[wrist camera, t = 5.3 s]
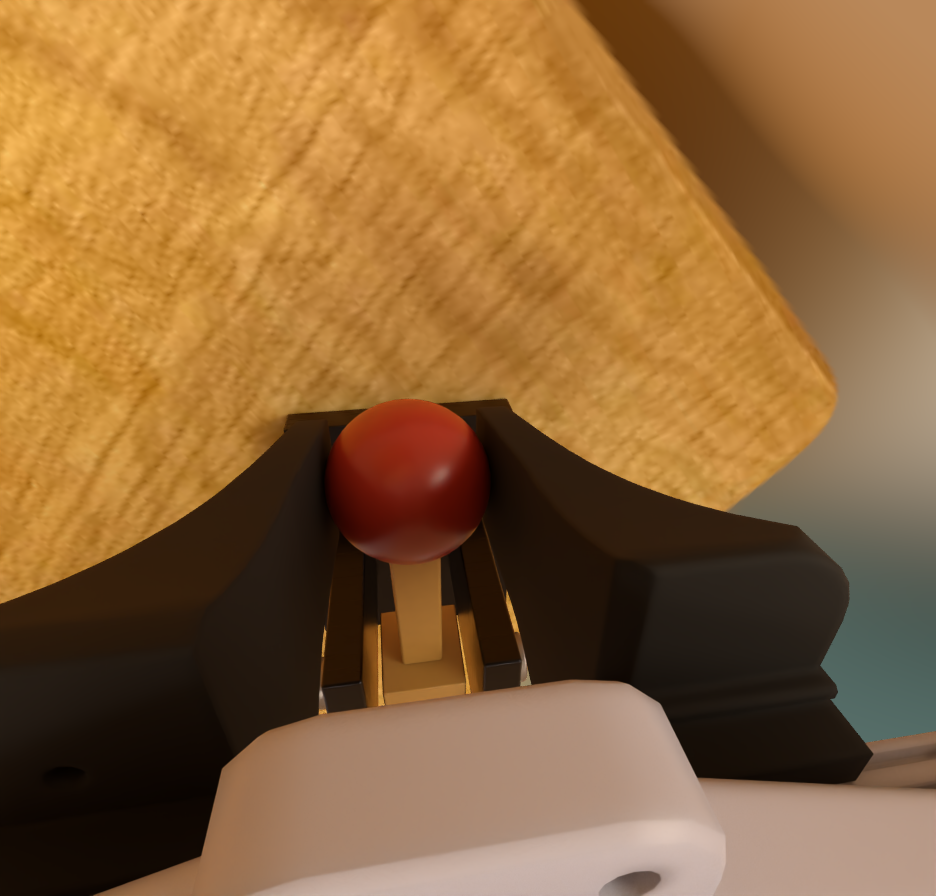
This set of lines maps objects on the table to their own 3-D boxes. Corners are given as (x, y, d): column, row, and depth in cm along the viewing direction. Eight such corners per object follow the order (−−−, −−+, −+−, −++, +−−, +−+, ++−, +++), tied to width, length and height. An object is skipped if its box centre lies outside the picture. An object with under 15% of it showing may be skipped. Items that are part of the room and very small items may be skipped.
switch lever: (316, 371, 10) (303, 492, 8) (479, 361, 11) (511, 473, 8) (372, 648, 18) (373, 753, 15) (467, 636, 18) (482, 736, 16)
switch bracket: (287, 414, 19) (227, 614, 11) (507, 398, 20) (592, 572, 12) (327, 610, 24) (304, 842, 16) (500, 590, 25) (558, 799, 17)
